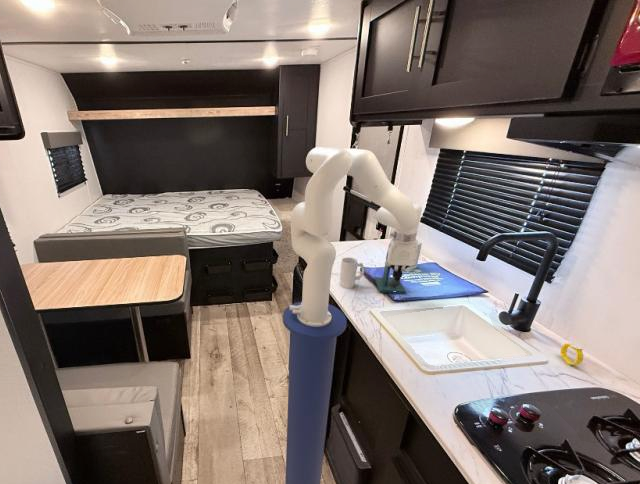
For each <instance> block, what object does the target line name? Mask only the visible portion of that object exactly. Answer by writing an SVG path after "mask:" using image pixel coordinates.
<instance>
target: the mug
mask: <svg viewBox="0 0 640 484" xmlns="http://www.w3.org/2000/svg"><path fill="white" fill-rule="evenodd" d="M358 268H361V272H360V274H359V275H357V270H358ZM339 274H340V275H339V286H341V287H342V288H345V289H352V288H354V287H355V282H356V281H358V280H359V281H360V280H361V279H362V278H363V275H364V274H365V266H364V262H359V260H358V259H357V258H355V257H349V256H348V257H342V258H341V263H340V273H339Z"/></svg>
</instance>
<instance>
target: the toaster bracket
mask: <svg viewBox="0 0 640 484" xmlns="http://www.w3.org/2000/svg"><path fill="white" fill-rule="evenodd" d="M399 267H400V265H398V268H399ZM390 270H391V268H390V266H386V265H385V264H384V269H383V273H382V274H383V275H382V276H374V278H373V280H374V282H375V285H376V288H377V289H378V292H379V293H380V294H394V295H395V294H396V295H406V289H405V288H404V285H403V284H402V282H401V281H400V285H399V286H394V285H392V280H393V279H394V278H393V277H390V272H391V271H390ZM393 291H396V292H393Z"/></svg>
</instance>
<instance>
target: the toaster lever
mask: <svg viewBox="0 0 640 484" xmlns="http://www.w3.org/2000/svg"><path fill="white" fill-rule="evenodd" d="M390 269H391V271H392V273H393V271H394V269H393V268H392V267H391V266H390ZM392 278H394V277H393V276H392ZM400 282H401V279H400V280H395V279H393V280H392V285H394V286H399V285H400Z"/></svg>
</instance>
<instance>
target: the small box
mask: <svg viewBox="0 0 640 484" xmlns="http://www.w3.org/2000/svg"><path fill="white" fill-rule="evenodd" d="M422 244H423V242H420V241H418V251H417V259H416V263H415V265H414V266H413V267H408V268H406V269H405V270H404V271H403V272H406V273H409V272H411V271H413V270H414V269H416V268H417V267H418V263H419V259H420V255H421V254H420V253H421V249H422V246H423V245H422Z"/></svg>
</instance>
